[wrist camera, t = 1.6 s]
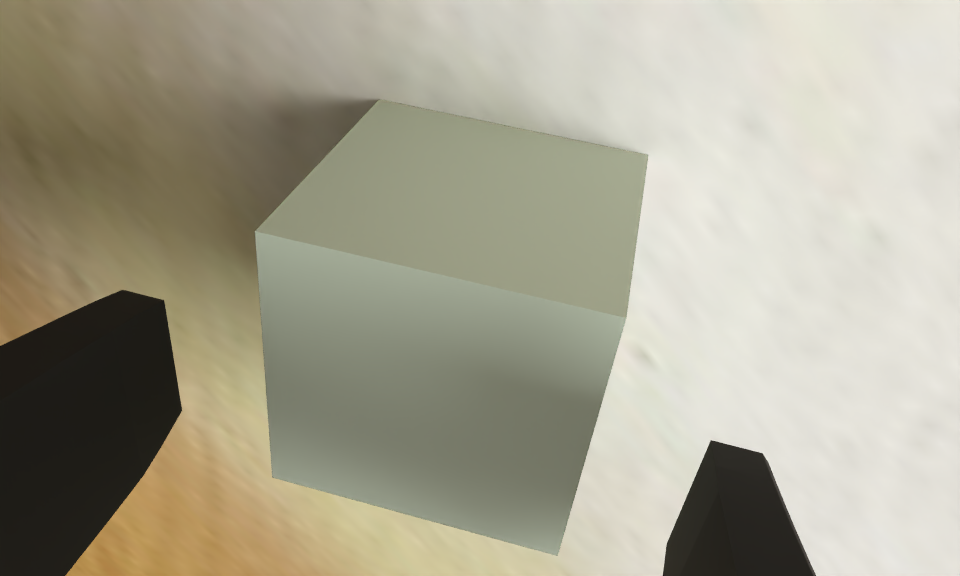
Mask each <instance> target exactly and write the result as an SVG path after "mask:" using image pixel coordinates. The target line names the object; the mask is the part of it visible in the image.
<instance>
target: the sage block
mask: <svg viewBox="0 0 960 576" xmlns="http://www.w3.org/2000/svg"><path fill="white" fill-rule="evenodd" d="M647 161H648V155H645V154H641V153H636V152H631V151H626V150H621V149H616V148H612V147H607V146H602V145H597V144H592V143H588V142H583V141H578V140H573V139H568V138H563V137H559V136H554V135H549V134H544V133H539V132H534V131H530V130H525V129H520V128H515V127H510V126H505V125H501V124H496V123H491V122H486V121H481V120H476V119H472V118H467V117H462V116H457V115H452V114H448V113H443V112H438V111H433V110H428V109H423V108H419V107H414V106H409V105H404V104H399V103H394V102H390V101H385V100H380V99H379V100H378V101H377V102H376V103H375V104H374V106H373V107H372V108H371V109H370V110H369V111H368V112H367V113H366V114H365V115H364V116H363V117H362V118H361V119H360V120H359V121H358V122H357V124H356V125H355V126H354V127H353V128H352V129H351V130H350V131H349V132H348V133H347V134H346V135H345V136H344V137H343V138H342V139H341V141H340V142H339V143H338V144H337V145H336V146H335V147H334V148H333V149H332V150H331V151H330V152H329V153H328V154H327V155H326V156H325V157H324V159H323V160H322V161H321V162H320V163H319V164H318V165H317V166H316V167H315V168H314V169H313V170H312V171H311V172H310V173H309V174H308V176H307V177H306V178H305V179H304V180H303V181H302V182H301V183H300V184H299V185H298V186H297V187H296V188H295V189H294V190H293V191H292V192H291V194H290V195H289V196H288V197H287V198H286V199H285V200H284V201H283V202H282V203H281V204H280V205H279V206H278V207H277V208H276V209H275V211H274V212H273V213H272V214H271V215H270V216H269V217H268V218H267V219H266V220H265V221H264V222H263V223H262V224H261V225H260V226H259V227H258V229H257V230H256V231H255V240H256V254H257V268H258V282H259V296H260V310H261V324H262V339H263V353H264V367H265V381H266V395H267V409H268V423H269V437H270V451H271V466H272V477H273V478H276V479H280V480H283V481H287V482H291V483H294V484H298V485H302V486H305V487H309V488H312V489H316V490H320V491H323V492H327V493H331V494H334V495H338V496H342V497H345V498H349V499H352V500H356V501H360V502H363V503H367V504H371V505H374V506H378V507H381V508H385V509H389V510H392V511H396V512H400V513H403V514H407V515H411V516H414V517H418V518H421V519H425V520H429V521H432V522H436V523H440V524H443V525H447V526H451V527H454V528H458V529H461V530H465V531H469V532H472V533H476V534H480V535H483V536H487V537H490V538H494V539H498V540H501V541H505V542H509V543H512V544H516V545H520V546H523V547H527V548H530V549H534V550H538V551H541V552H545V553H549V554H552V555H556V556H558V553H559V549H560V546H561V542H562V539H563V535H564V532H565V528H566V525H567V521H568V518H569V515H570V511H571V508H572V504H573V501H574V497H575V494H576V490H577V487H578V483H579V480H580V476H581V473H582V469H583V466H584V462H585V459H586V456H587V452H588V449H589V445H590V442H591V438H592V435H593V431H594V428H595V424H596V421H597V417H598V414H599V410H600V407H601V404H602V400H603V397H604V393H605V390H606V386H607V383H608V379H609V376H610V372H611V369H612V365H613V362H614V358H615V355H616V352H617V348H618V345H619V341H620V338H621V334H622V331H623V327H624V324H625V320H626V316H627V308H628V301H629V294H630V286H631V279H632V271H633V264H634V257H635V249H636V242H637V235H638V227H639V220H640V213H641V205H642V198H643V191H644V183H645V176H646V169H647Z"/></svg>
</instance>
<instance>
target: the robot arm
mask: <svg viewBox="0 0 960 576" xmlns="http://www.w3.org/2000/svg"><path fill="white" fill-rule="evenodd" d="M181 411H182V407H181V401H180V395H179V389H178V383H177V377H176V370H175V364H174V358H173V352H172V346H171V340H170V333H169V327H168V321H167V315H166V309H165V303H164V300H160V299H157V298H153V297H149V296H145V295H141V294H137V293H133V292H129V291H125V290H121V291H119V292H116V293H114V294H111V295H109V296H107V297H104V298H102V299H100V300H97V301H95V302H93V303H91V304H88V305H86V306H84V307H82V308H80V309H78V310H75V311H73V312H71V313H69V314H67V315H65V316H63V317H61V318H58V319H56V320H54V321H52V322H50V323H48V324H46V325H44V326H42V327H40V328H37V329H35V330H33V331H31V332H29V333H27V334H25V335H23V336H21V337H19V338H16V339H14V340H12V341H10V342H8V343H6V344H4V345H1V346H0V576H65V575H66V574H67V573H68V571H69V570H70V569H71V568H72V566H73V565H74V564H75V563H76V561H77V560H78V559H79V558H80V556H81V555H82V554H83V552H84V551H85V550H86V549H87V547H88V546H89V545H90V544H91V542H92V541H93V540H94V539H95V537H96V536H97V535H98V534H99V532H100V531H101V530H102V528H103V527H104V526H105V525H106V523H107V522H108V521H109V520H110V518H111V517H112V516H113V514H114V513H115V512H116V511H117V509H118V508H119V507H120V505H121V504H122V503H123V501H124V500H125V499H126V498H127V496H128V495H129V494H130V492H131V491H132V490H133V489H134V487H135V486H136V485H137V483H138V482H139V481H140V479H141V478H142V477H143V475H144V474H145V472H146V471H147V469H148V467H149V466H150V464H151V462H152V461H153V459H154V458H155V456H156V454H157V453H158V451H159V450H160V448H161V446H162V445H163V443H164V441H165V439H166V438H167V436H168V434H169V432H170V431H171V429H172V427H173V425H174V424H175V422H176V420H177V418H178V417H179V415H180V413H181ZM663 576H816V575H815V572H814V570H813V568H812V566H811V564H810V561H809V559H808V557H807V555H806V552H805V550H804V548H803V545H802V543H801V541H800V539H799V536H798V534H797V532H796V530H795V527H794V525H793V522H792V520H791V518H790V515H789V513H788V511H787V508H786V506H785V503H784V501H783V498H782V496H781V493H780V491H779V488H778V486H777V484H776V481H775V479H774V476H773V473H772V471H771V468H770V466H769V463H768V461H767V460H766V458H765V457H764V455H763V454H762V453H759V452H755V451H751V450H747V449H743V448H739V447H735V446H731V445H727V444H723V443H720V442H716V441H712V440H711V441H710V444H709V446H708V448H707V451H706V453H705V455H704V458H703V460H702V463H701V465H700V467H699V470H698V472H697V474H696V477H695V479H694V481H693V484H692V486H691V488H690V491H689V493H688V495H687V498H686V500H685V502H684V505H683V507H682V509H681V512H680V514H679V517H678V519H677V521H676V524H675V526H674V528H673V531H672V533H671V535H670V538H669V540H668V542H667V547H666V555H665V563H664V571H663Z"/></svg>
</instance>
